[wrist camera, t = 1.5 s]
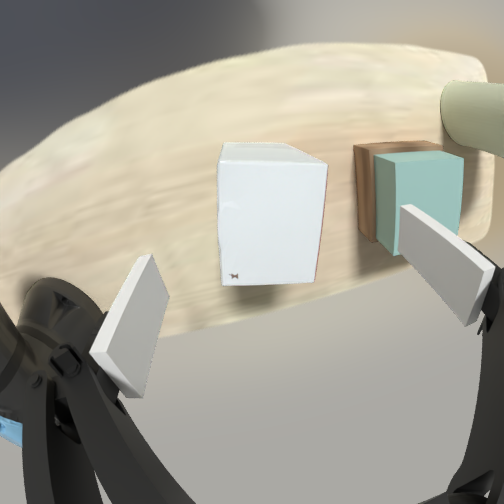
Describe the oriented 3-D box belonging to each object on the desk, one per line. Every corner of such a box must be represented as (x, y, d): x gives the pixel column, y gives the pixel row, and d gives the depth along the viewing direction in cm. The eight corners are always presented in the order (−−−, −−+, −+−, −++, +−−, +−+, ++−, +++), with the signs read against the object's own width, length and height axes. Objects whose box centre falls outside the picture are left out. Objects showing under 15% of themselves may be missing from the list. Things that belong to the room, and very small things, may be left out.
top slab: (375, 238, 27) (393, 256, 24) (373, 154, 23) (395, 162, 19) (436, 224, 27) (456, 239, 23) (439, 150, 23) (463, 158, 19)
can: (474, 155, 26) (537, 181, 16) (434, 130, 25) (507, 150, 14) (484, 99, 22) (547, 111, 12) (444, 67, 21) (515, 68, 10)
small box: (283, 216, 29) (315, 285, 18) (223, 217, 29) (219, 289, 17) (286, 141, 26) (330, 163, 14) (222, 140, 25) (213, 160, 14)
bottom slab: (357, 228, 31) (371, 242, 27) (352, 144, 26) (368, 149, 23) (421, 215, 31) (439, 227, 27) (422, 140, 26) (442, 145, 22)
